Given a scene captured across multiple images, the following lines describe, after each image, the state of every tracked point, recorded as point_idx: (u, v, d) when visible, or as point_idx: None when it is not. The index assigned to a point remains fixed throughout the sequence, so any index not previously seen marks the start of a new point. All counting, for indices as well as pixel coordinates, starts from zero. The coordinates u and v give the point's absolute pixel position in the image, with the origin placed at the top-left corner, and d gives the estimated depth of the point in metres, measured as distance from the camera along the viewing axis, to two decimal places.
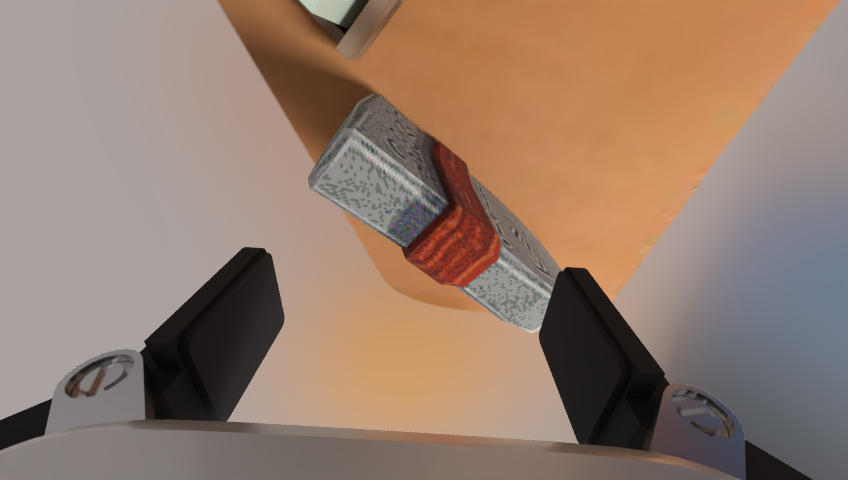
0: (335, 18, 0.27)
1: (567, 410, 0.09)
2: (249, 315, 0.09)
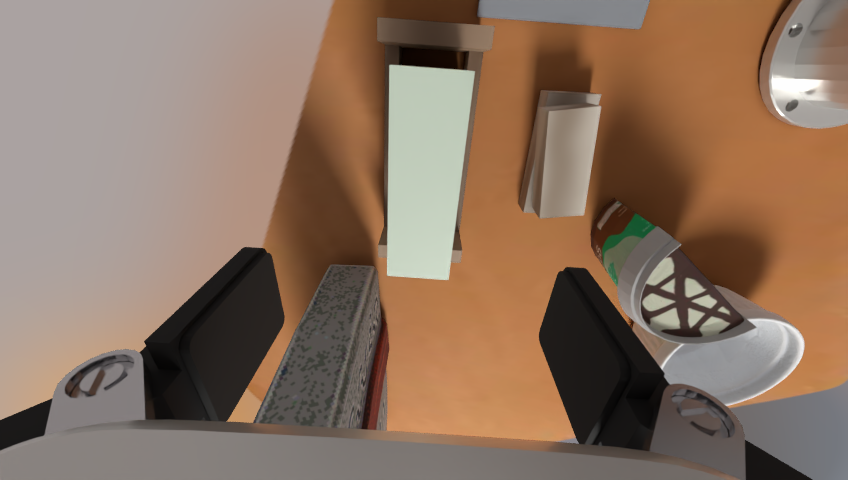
0: None
1: (567, 410, 0.09)
2: (249, 315, 0.09)
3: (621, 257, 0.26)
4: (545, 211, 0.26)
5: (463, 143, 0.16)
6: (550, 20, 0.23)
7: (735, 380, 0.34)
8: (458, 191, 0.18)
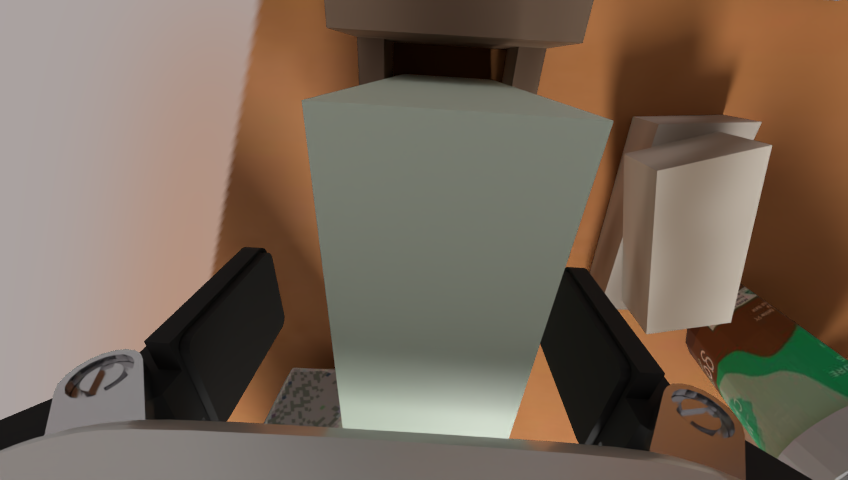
0: None
1: (567, 410, 0.09)
2: (249, 315, 0.09)
3: (777, 406, 0.15)
4: (656, 323, 0.15)
5: (543, 315, 0.06)
6: None
7: None
8: (515, 406, 0.07)
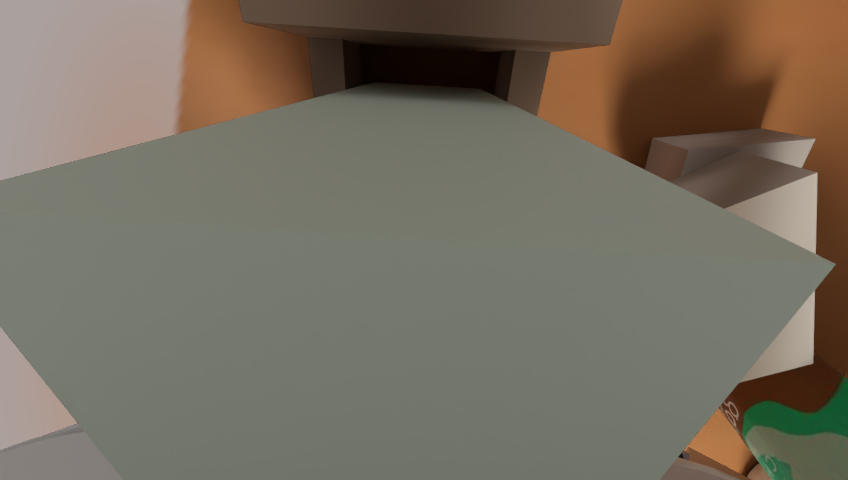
0: None
1: None
2: None
3: (824, 476, 0.12)
4: None
5: None
6: None
7: None
8: None
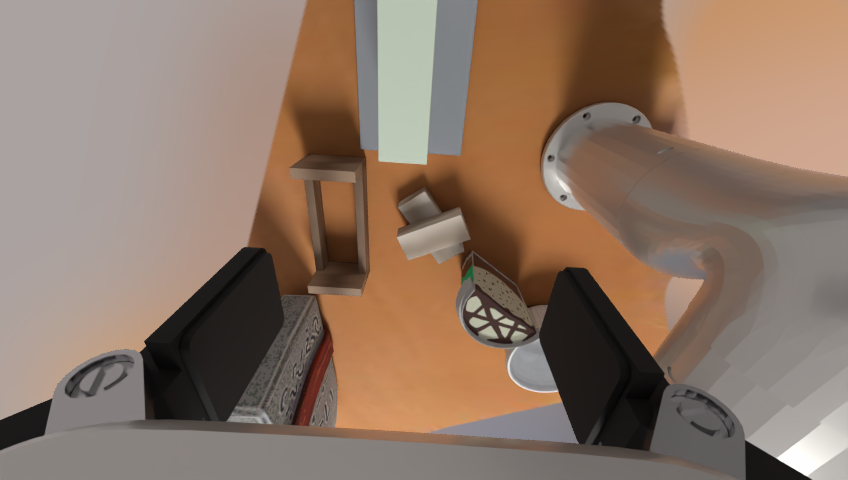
0: None
1: (567, 410, 0.09)
2: (249, 315, 0.09)
3: None
4: (464, 238, 0.39)
5: (432, 41, 0.22)
6: None
7: None
8: (430, 83, 0.23)
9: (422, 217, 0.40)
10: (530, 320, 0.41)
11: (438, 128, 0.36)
